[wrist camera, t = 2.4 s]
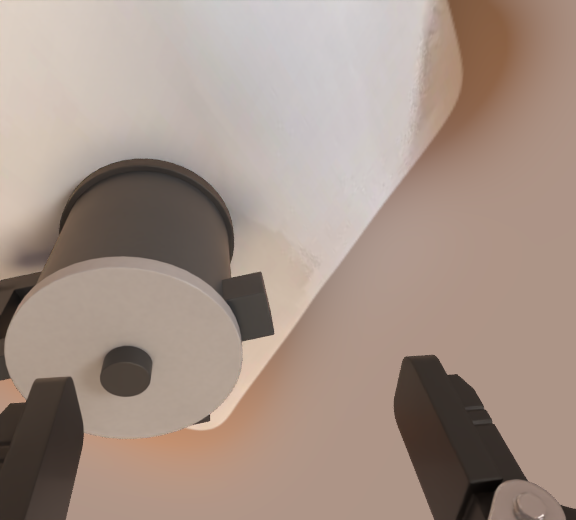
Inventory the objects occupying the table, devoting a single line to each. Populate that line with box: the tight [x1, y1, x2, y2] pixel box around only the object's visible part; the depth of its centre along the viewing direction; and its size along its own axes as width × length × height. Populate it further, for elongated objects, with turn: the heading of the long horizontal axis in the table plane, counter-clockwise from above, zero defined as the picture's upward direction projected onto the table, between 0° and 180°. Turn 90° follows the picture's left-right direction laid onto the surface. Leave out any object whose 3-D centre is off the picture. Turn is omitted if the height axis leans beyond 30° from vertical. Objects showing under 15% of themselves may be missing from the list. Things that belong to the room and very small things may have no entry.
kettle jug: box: [0, 159, 274, 439], centre depth 32 cm, size 13×17×14 cm
